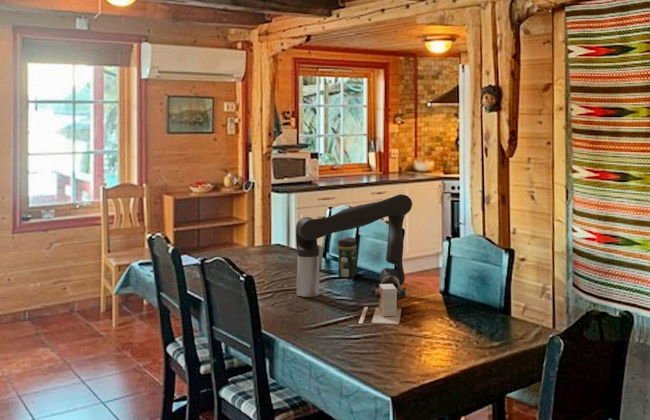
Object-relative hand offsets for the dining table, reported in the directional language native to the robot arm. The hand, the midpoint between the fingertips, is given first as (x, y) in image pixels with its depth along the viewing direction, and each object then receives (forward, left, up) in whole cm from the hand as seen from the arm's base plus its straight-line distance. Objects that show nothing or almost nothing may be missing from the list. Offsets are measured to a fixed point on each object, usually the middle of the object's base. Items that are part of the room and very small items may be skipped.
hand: (387, 297), depth 258 cm
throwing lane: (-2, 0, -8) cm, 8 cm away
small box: (0, +1, -7) cm, 7 cm away
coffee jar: (-24, +66, -8) cm, 71 cm away
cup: (-41, +78, -8) cm, 88 cm away
